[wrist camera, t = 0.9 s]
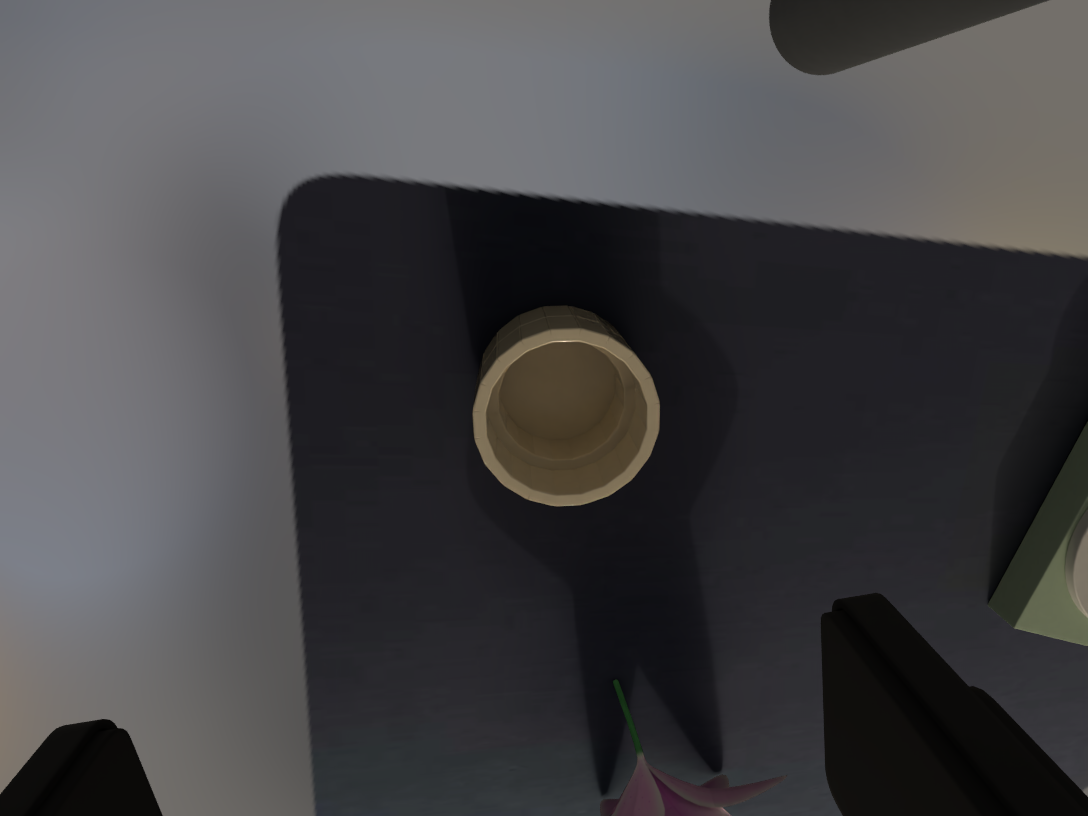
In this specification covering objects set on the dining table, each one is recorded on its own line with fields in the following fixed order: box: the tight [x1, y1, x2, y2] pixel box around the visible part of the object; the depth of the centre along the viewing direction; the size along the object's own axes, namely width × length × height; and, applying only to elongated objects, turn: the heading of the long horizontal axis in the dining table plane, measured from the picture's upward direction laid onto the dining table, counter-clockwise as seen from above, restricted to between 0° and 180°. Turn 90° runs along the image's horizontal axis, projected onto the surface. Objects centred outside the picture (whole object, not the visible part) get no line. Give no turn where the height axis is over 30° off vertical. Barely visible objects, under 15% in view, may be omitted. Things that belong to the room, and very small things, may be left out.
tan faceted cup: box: [472, 306, 660, 506], centre depth 29 cm, size 7×7×6 cm
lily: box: [600, 680, 787, 816], centre depth 34 cm, size 12×12×10 cm
